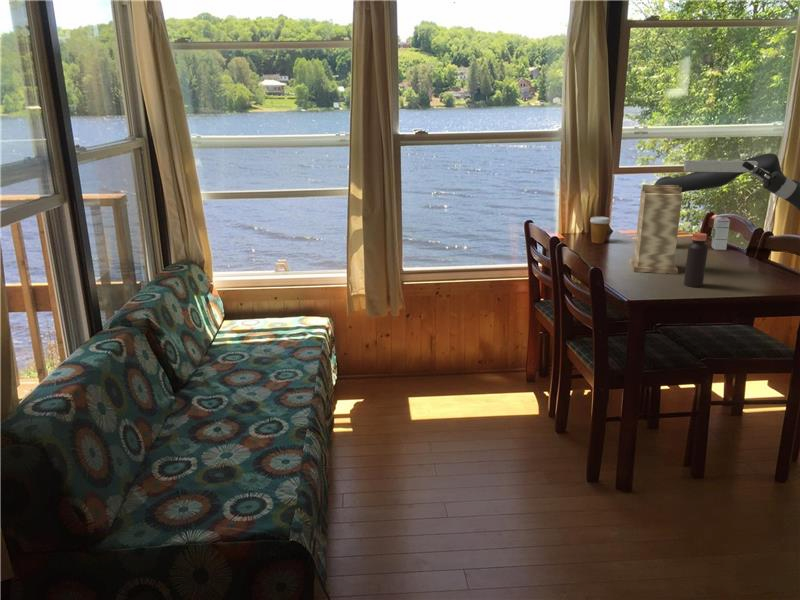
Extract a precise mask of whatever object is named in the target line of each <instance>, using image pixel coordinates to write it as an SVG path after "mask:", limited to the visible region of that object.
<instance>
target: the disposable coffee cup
mask: <svg viewBox="0 0 800 600" xmlns="http://www.w3.org/2000/svg"><path fill="white" fill-rule="evenodd" d="M589 221H590V237H591V243H594V244H604V242H606V238H607V233H608V229H609V224H610V222H611V219H610V218H609V217H606V216H592V217H590V220H589Z"/></svg>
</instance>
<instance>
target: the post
mask: <svg viewBox="0 0 800 600" xmlns="http://www.w3.org/2000/svg"><path fill="white" fill-rule="evenodd" d="M641 186H642V188H641V189H640V199H639V209H638V216H637V217H638V219H637V226H636V227H637V228H636V234H635V235H636V237H635V247H634V257H633V258H629V262H628V263H629V265H630V267H631V269H632V271H633V273H644V272H651V273H650V274H666V273H669V274H670V275H672V274H673V275H678V273H679V269H678V267H677V266H676V264H675V260H676V259H675V258H676V251H677V243H678V234H679V225H680V219H681V209H682V202H683V194H682V193H683V192H682V187H679V185H654V184H642V185H641ZM681 192H682V193H681ZM669 274H668V275H669Z"/></svg>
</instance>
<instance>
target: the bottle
mask: <svg viewBox="0 0 800 600" xmlns="http://www.w3.org/2000/svg"><path fill="white" fill-rule="evenodd" d="M707 237H708V234H707V233H704V232H693V233H692V239H691V240H692V243H691V244H689V245H688V247H687V248H688V249H687V255H686V257H687V258H686V263H685V271H684V272H685V273H684V279H683V284H684V285H685V286H687V287H690V286H691V288H701V287H703V286H704V280H705V279H704V278H705V271H706V266H707V265H706V264H707V257H708V246H707V245H706V242H707Z"/></svg>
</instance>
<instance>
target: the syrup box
mask: <svg viewBox="0 0 800 600" xmlns="http://www.w3.org/2000/svg"><path fill="white" fill-rule="evenodd" d="M730 223H731V220H730V219H729V218H728V217H723V216H721V217H720V216H717V217H714V219H713V226H712V235H711V245H710V248H711V249H712V250H717V251H718V250H720V251H726V250H727V246H728V245H727V244H728V237H729V230H730Z"/></svg>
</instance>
